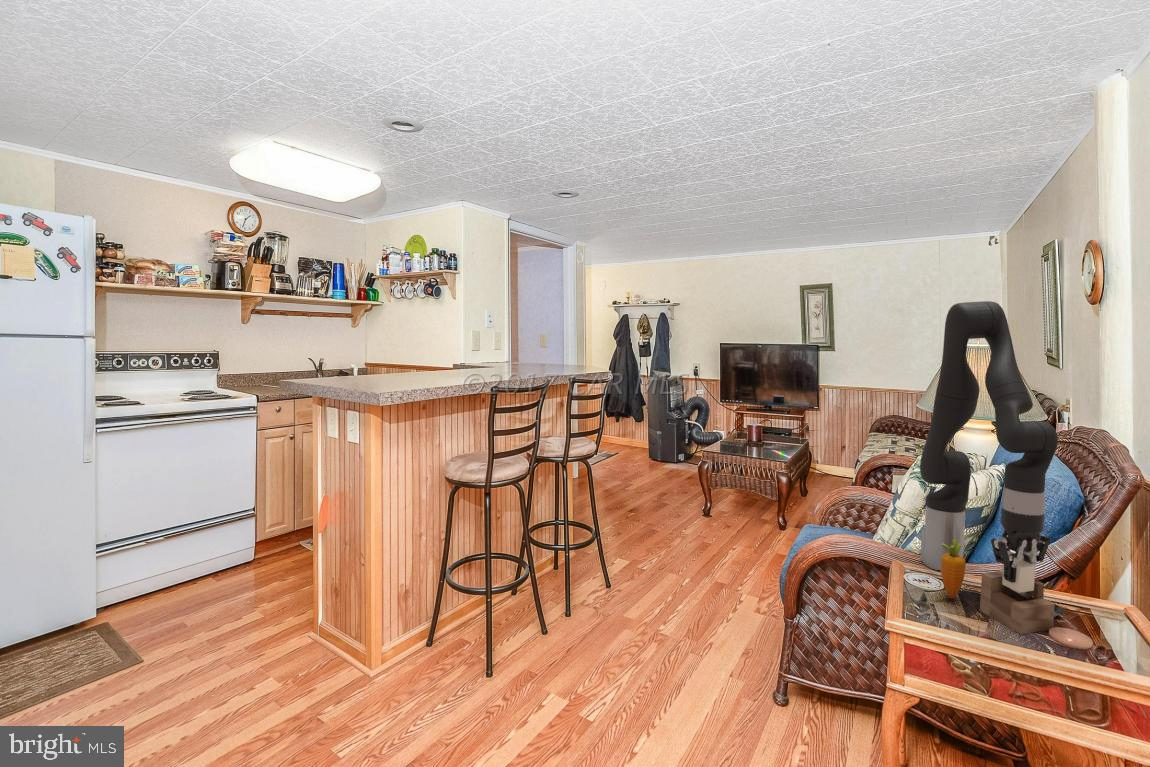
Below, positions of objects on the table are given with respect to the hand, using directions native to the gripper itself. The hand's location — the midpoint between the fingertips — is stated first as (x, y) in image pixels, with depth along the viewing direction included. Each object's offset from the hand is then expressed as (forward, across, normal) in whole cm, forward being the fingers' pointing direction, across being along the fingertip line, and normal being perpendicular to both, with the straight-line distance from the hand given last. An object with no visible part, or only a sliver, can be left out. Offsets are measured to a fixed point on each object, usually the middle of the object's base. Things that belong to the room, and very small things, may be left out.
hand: (1018, 579), depth 123 cm
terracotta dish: (+10, +4, -9) cm, 14 cm away
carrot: (+10, -6, +11) cm, 16 cm away
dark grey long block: (+6, +5, 0) cm, 7 cm away
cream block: (+2, 0, 0) cm, 2 cm away
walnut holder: (+10, +1, 0) cm, 10 cm away
